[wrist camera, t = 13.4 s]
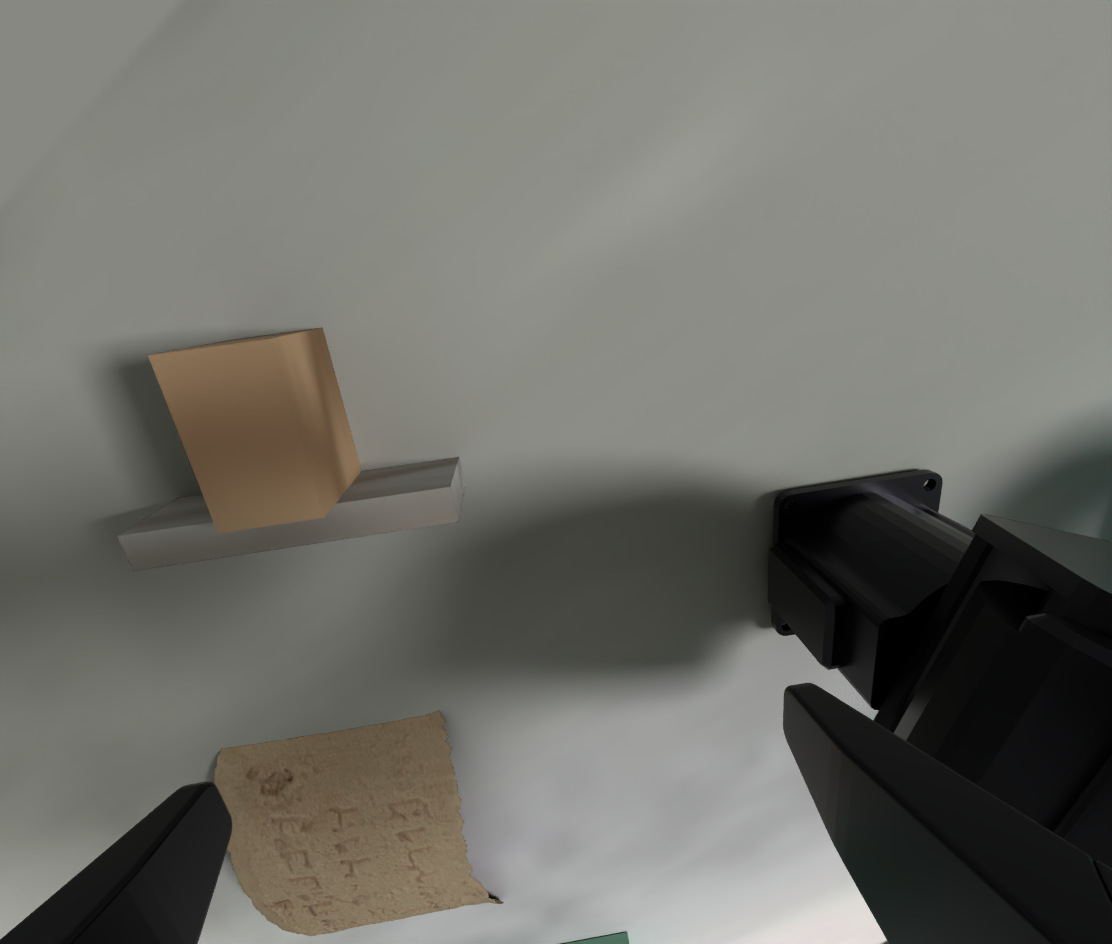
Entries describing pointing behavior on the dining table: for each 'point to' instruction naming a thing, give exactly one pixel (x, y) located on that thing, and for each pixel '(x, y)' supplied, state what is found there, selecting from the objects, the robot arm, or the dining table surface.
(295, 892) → the clay tablet
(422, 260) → the dining table surface
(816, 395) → the dining table surface
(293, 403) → the tan block on bar
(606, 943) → the bar
